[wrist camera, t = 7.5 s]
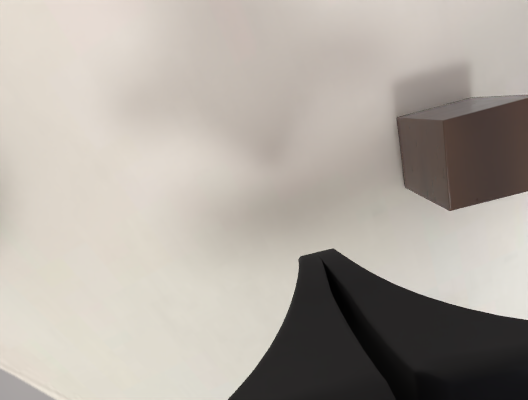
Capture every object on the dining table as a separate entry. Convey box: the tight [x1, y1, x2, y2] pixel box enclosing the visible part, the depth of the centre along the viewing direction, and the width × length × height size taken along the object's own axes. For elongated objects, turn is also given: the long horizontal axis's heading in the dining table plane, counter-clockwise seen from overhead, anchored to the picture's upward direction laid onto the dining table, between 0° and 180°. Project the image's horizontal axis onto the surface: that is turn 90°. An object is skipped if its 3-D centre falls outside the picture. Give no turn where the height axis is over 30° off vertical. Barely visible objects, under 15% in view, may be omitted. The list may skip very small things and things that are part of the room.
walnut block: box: [397, 95, 528, 211], centre depth 16 cm, size 4×4×4 cm
